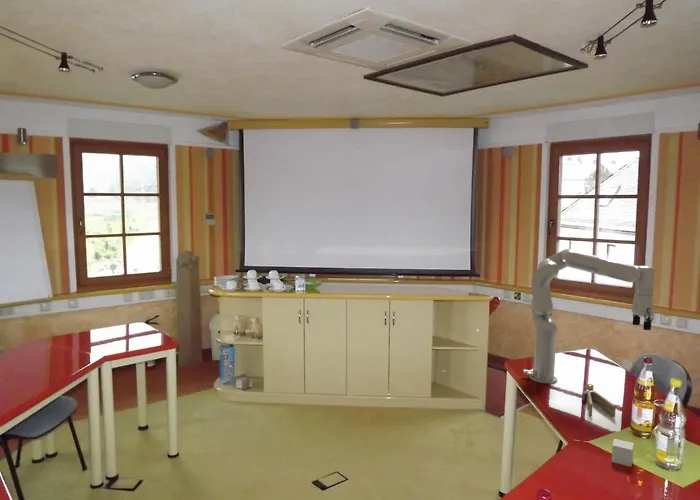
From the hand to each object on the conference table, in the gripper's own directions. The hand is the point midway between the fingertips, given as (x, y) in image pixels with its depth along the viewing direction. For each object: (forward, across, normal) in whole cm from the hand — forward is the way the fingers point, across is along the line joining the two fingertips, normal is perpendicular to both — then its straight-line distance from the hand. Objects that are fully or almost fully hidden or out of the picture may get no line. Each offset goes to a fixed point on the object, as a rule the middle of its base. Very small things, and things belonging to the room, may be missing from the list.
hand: (641, 327), depth 243 cm
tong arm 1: (+29, +29, -35) cm, 54 cm away
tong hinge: (+30, +19, -31) cm, 47 cm away
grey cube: (+30, +72, -42) cm, 89 cm away
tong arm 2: (+29, +29, -29) cm, 51 cm away
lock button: (+24, +19, -31) cm, 44 cm away
